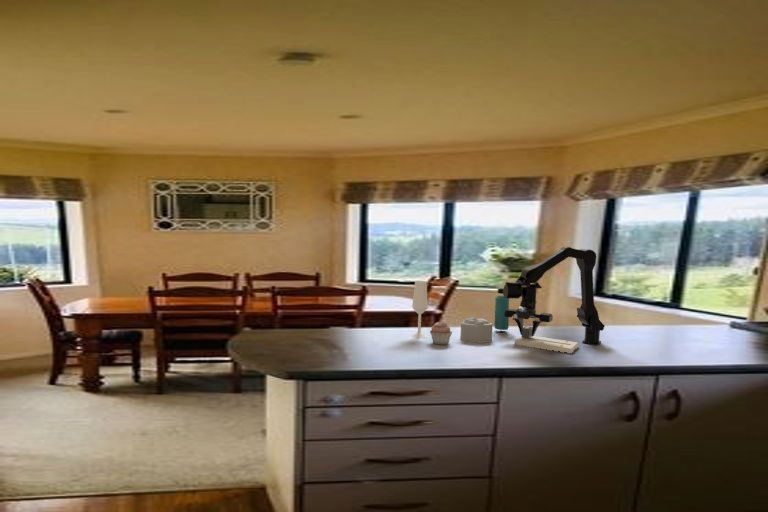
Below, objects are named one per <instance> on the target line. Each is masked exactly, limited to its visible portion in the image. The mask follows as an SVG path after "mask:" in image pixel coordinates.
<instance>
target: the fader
mask: <svg viewBox="0 0 768 512" xmlns="http://www.w3.org/2000/svg"><path fill="white" fill-rule="evenodd" d="M532 329H533V326H529V325H525V326H523V328H522V335H521V336H522V338H531V337H532Z"/></svg>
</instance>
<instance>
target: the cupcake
mask: <svg viewBox="0 0 768 512" xmlns="http://www.w3.org/2000/svg"><path fill="white" fill-rule="evenodd" d="M429 333H430V335H431V339H432V343H433V344H434V345H438V346H445V345H448V344H449V343H450V340H451V336H452V335H453V331H451V327H450V326H449V325H448V324H447V322H446V321H445V320H443V319H439V321H437V322H435V323H434V324H433V326H431V329H430V330H429Z"/></svg>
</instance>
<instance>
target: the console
mask: <svg viewBox="0 0 768 512" xmlns="http://www.w3.org/2000/svg"><path fill="white" fill-rule="evenodd" d="M514 345H515V346H522V345H523V347H528V346H529V348H534V347H535V349H540V348H541V350H546V349H547V351H552V350H554V351H553V352H558V351H560V352H559V353H564V352H567V353H566V354H570V353H571V354H572V353H574V352H575V351H576V350H577V349H578V348H579V342H577V341H571V340H570V341H569V340H564V339H557V338H551V337H544V336H538V335H534V336H533V337H531V338H522V335H520V336H519V337H518V338H515V340H514ZM575 349H576V350H575ZM574 350H575V351H574Z"/></svg>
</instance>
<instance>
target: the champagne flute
mask: <svg viewBox="0 0 768 512" xmlns="http://www.w3.org/2000/svg"><path fill="white" fill-rule="evenodd" d="M413 288H414V290H413V298H412V305H411V306H412V309H413V311H415V313H417V315H418V316H417V332H415V333H414V334H413V333H412V334H411V338H415V339H425V338H427V335H426V334H425V333H423V332H422V331H421V330H422V329H421V328H422V314H424V313H425V312H426V311H427V310H428V308H429V304H428V290H427V289H428V288H427V280H426V281H425V280H415V281H414V287H413Z"/></svg>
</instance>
